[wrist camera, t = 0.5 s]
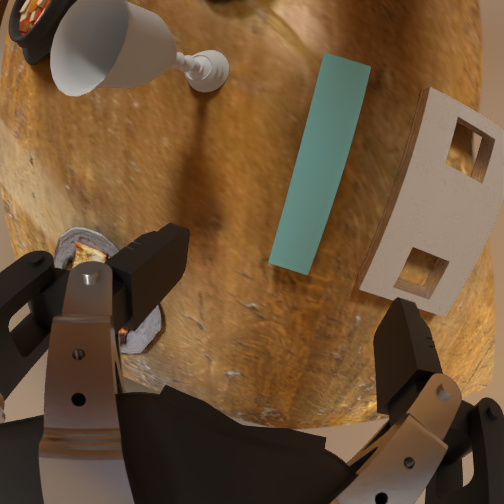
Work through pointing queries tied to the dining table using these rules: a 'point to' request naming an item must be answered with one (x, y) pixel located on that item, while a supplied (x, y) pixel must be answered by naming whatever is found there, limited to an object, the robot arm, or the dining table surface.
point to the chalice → (123, 50)
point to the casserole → (36, 25)
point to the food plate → (97, 249)
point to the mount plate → (437, 207)
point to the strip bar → (320, 161)
